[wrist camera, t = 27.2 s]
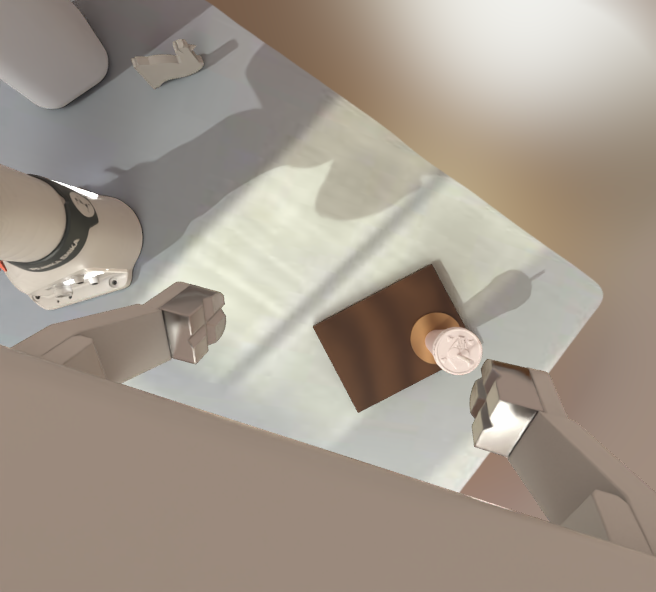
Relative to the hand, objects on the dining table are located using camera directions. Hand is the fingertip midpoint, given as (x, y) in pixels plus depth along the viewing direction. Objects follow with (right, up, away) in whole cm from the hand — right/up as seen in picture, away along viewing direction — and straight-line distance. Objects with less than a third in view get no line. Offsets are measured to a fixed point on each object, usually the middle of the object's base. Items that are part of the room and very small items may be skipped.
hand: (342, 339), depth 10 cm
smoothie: (+17, -6, +44) cm, 47 cm away
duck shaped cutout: (-26, +39, +46) cm, 66 cm away
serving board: (+11, -6, +45) cm, 47 cm away
